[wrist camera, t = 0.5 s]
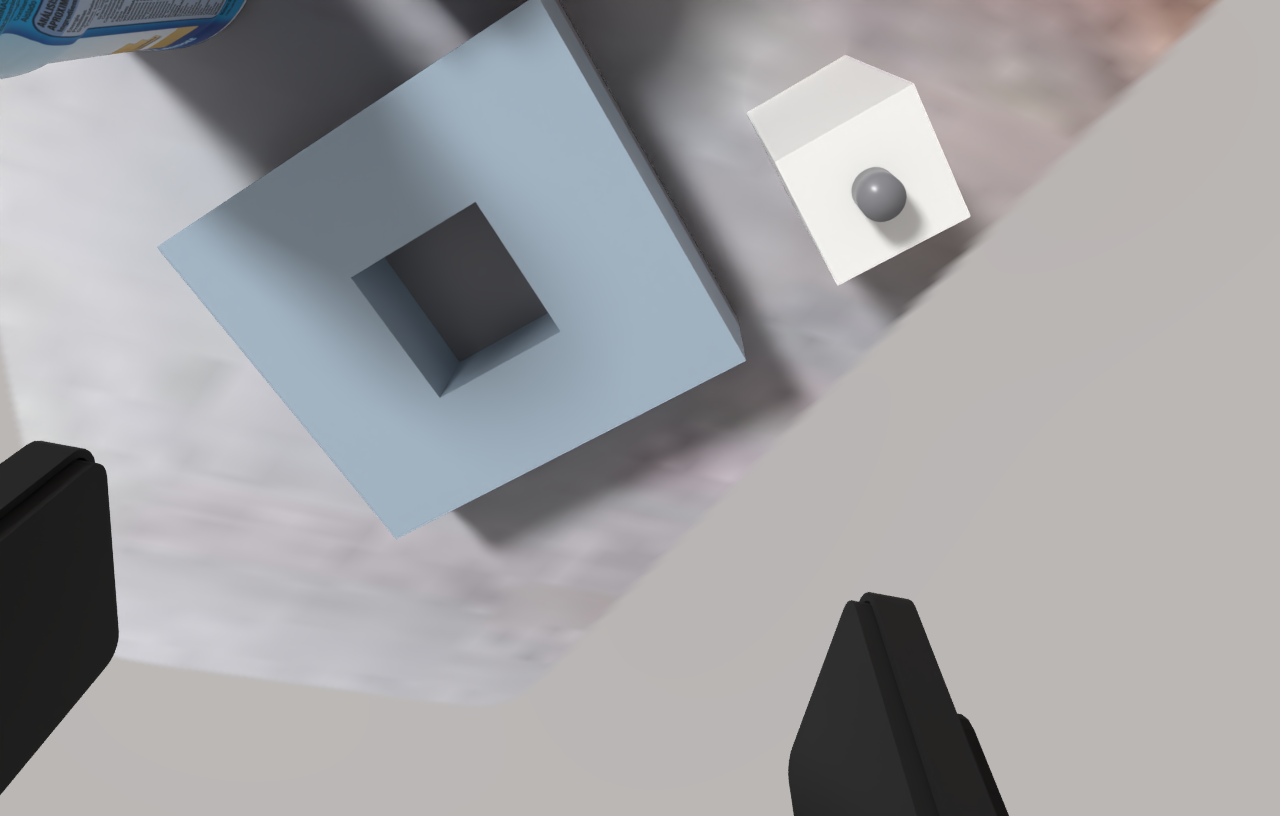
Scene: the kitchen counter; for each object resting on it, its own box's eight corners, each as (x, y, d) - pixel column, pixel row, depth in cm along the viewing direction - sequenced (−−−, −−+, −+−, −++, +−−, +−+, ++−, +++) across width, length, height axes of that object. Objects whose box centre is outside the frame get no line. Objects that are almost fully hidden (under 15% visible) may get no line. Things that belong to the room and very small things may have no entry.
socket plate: (554, -8, 31) (536, -6, 27) (737, 318, 36) (746, 360, 32) (215, 216, 35) (156, 247, 31) (423, 483, 40) (396, 539, 36)
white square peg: (845, 54, 32) (925, 88, 22) (890, 153, 34) (984, 227, 23) (746, 112, 33) (779, 170, 23) (793, 206, 34) (844, 299, 24)
